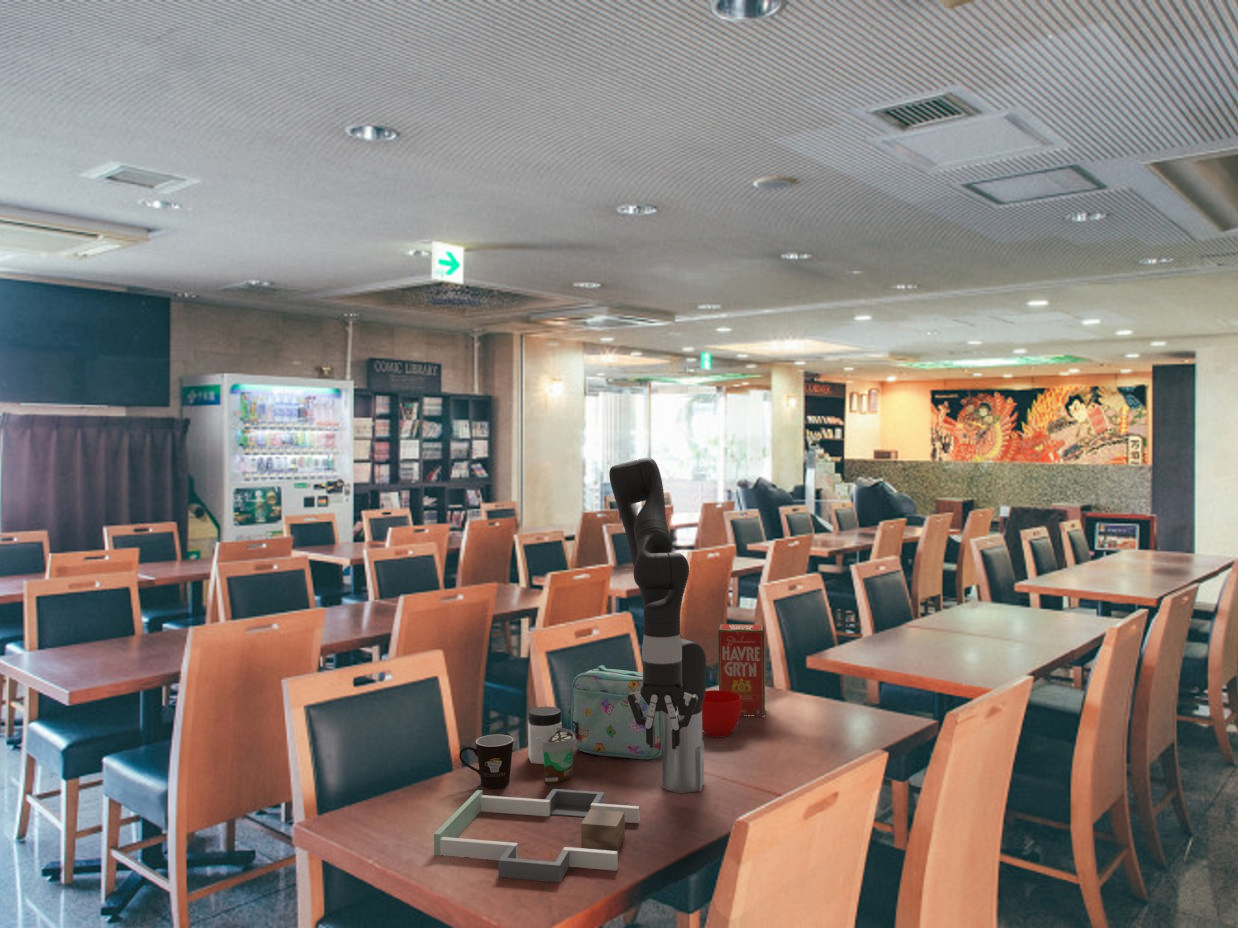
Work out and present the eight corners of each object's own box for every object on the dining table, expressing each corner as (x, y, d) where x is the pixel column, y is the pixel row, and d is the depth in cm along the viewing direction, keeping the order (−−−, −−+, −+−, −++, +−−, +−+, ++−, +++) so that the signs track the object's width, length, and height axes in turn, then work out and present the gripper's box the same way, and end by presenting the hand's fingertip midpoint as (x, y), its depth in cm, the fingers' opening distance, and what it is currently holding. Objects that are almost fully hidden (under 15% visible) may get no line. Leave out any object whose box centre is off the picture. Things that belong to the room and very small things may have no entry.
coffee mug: (520, 779, 207) (519, 736, 207) (503, 792, 199) (503, 747, 199) (475, 773, 211) (475, 731, 211) (457, 786, 203) (457, 742, 203)
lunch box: (563, 753, 225) (562, 668, 225) (580, 741, 235) (579, 659, 235) (663, 765, 215) (662, 677, 215) (676, 752, 225) (675, 667, 225)
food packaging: (718, 715, 256) (717, 628, 256) (720, 706, 265) (719, 622, 265) (765, 717, 254) (764, 629, 254) (765, 708, 263) (764, 623, 263)
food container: (569, 788, 201) (568, 744, 201) (543, 786, 202) (542, 742, 202) (582, 769, 213) (582, 728, 213) (557, 768, 214) (557, 726, 214)
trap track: (644, 808, 189) (644, 790, 189) (608, 886, 155) (608, 863, 155) (487, 797, 196) (487, 779, 196) (420, 869, 162) (419, 847, 162)
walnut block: (624, 836, 176) (624, 811, 176) (617, 852, 169) (616, 826, 169) (590, 834, 177) (590, 809, 177) (581, 849, 170) (581, 823, 170)
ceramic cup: (688, 722, 250) (687, 687, 250) (747, 728, 243) (746, 692, 243) (673, 736, 238) (672, 698, 238) (734, 743, 231) (734, 704, 231)
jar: (521, 762, 219) (521, 713, 218) (535, 752, 226) (534, 704, 226) (556, 766, 216) (555, 716, 216) (568, 755, 224) (567, 707, 224)
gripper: (701, 654, 172) (702, 743, 172) (629, 651, 175) (630, 739, 175) (696, 663, 165) (697, 755, 165) (621, 660, 168) (622, 751, 168)
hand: (663, 746), depth 170 cm, fingers open, 3 cm apart
